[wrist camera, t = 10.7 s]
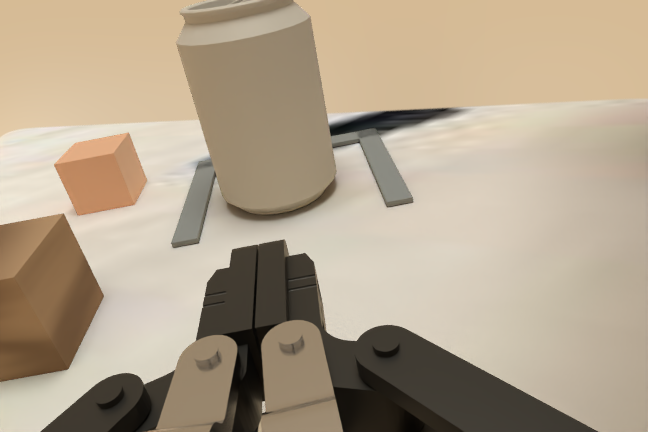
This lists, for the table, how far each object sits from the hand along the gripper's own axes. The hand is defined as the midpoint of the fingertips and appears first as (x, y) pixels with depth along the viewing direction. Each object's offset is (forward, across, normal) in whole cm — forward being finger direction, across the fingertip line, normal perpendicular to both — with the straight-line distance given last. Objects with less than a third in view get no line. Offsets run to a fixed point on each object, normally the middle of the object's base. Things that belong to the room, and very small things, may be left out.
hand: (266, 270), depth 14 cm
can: (+18, +1, +6) cm, 19 cm away
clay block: (+22, +13, +6) cm, 26 cm away
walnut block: (+7, +12, +6) cm, 16 cm away
